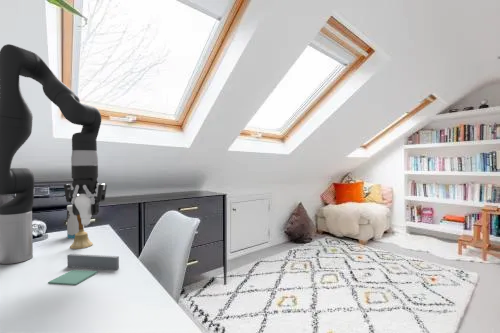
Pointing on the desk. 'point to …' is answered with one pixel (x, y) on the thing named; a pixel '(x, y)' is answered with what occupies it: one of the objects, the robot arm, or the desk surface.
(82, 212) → the lightbulb
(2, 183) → the robot arm
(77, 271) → the pad
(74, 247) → the hand bell
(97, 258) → the wall
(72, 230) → the cup
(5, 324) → the desk surface
